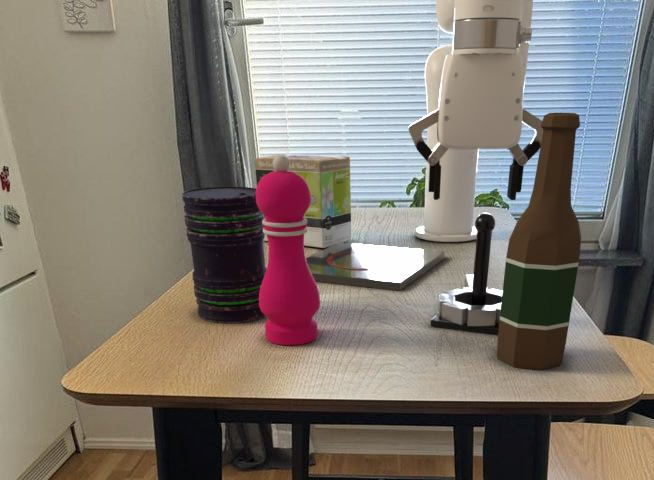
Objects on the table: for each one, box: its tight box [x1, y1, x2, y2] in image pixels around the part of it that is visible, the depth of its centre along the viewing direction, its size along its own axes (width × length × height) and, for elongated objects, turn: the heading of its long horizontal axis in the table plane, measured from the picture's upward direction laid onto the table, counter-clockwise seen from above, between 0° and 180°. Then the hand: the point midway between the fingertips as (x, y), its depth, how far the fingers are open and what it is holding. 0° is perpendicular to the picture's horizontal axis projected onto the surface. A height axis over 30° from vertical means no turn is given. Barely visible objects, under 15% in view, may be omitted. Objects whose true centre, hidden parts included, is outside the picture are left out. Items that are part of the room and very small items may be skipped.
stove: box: [306, 242, 446, 292], centre depth 110 cm, size 22×20×1 cm
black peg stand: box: [429, 212, 499, 336], centre depth 83 cm, size 10×10×13 cm
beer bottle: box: [496, 112, 582, 371], centre depth 68 cm, size 8×8×24 cm
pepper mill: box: [256, 154, 321, 346], centre depth 76 cm, size 7×7×20 cm
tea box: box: [254, 153, 352, 249], centre depth 125 cm, size 15×10×15 cm, turn 58°
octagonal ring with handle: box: [437, 274, 503, 326], centre depth 88 cm, size 17×10×2 cm, turn 177°
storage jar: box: [181, 186, 267, 324], centre depth 86 cm, size 10×10×15 cm
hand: (473, 198), depth 86 cm, fingers open, 9 cm apart
